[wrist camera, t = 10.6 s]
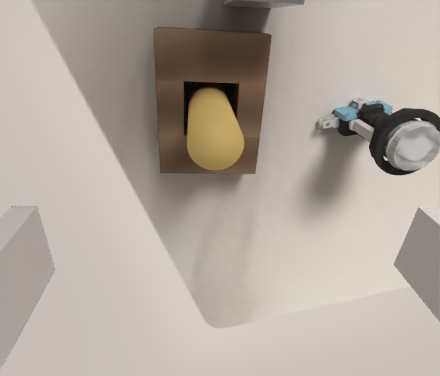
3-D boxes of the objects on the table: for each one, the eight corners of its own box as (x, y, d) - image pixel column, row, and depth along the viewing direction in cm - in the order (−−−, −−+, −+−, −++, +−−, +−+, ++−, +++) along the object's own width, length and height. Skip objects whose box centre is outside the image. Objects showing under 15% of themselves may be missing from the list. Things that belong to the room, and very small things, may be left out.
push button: (317, 143, 33) (362, 189, 24) (317, 93, 30) (367, 124, 22) (379, 132, 33) (446, 174, 24) (384, 81, 30) (461, 107, 21)
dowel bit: (188, 79, 29) (187, 115, 18) (227, 81, 29) (246, 117, 19) (188, 117, 30) (186, 170, 20) (224, 118, 31) (241, 170, 20)
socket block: (158, 26, 26) (153, 28, 23) (261, 32, 27) (271, 34, 24) (164, 155, 32) (160, 172, 29) (248, 157, 33) (255, 173, 30)
